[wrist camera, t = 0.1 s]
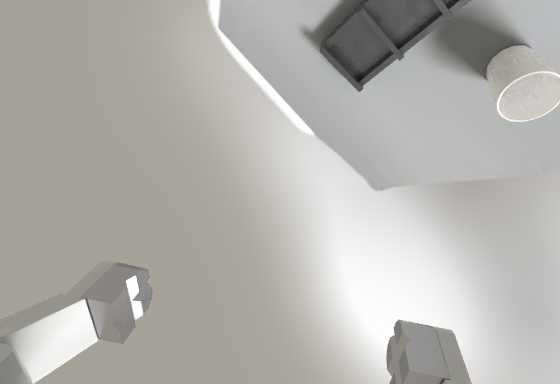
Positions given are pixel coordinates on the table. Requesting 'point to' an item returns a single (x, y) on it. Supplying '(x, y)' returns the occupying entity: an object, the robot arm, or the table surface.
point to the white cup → (522, 84)
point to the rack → (383, 34)
